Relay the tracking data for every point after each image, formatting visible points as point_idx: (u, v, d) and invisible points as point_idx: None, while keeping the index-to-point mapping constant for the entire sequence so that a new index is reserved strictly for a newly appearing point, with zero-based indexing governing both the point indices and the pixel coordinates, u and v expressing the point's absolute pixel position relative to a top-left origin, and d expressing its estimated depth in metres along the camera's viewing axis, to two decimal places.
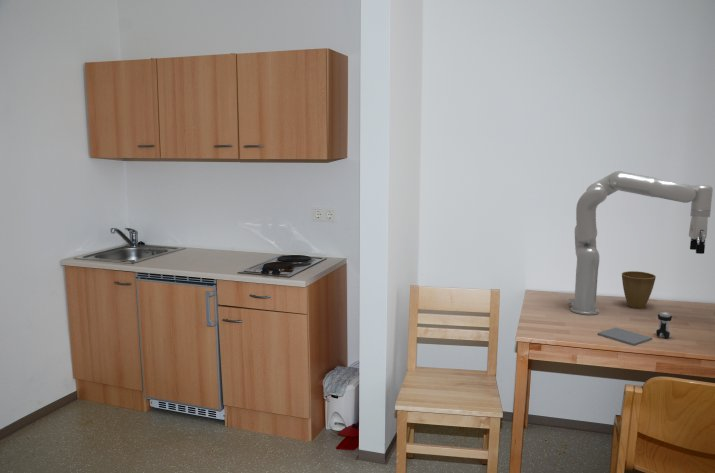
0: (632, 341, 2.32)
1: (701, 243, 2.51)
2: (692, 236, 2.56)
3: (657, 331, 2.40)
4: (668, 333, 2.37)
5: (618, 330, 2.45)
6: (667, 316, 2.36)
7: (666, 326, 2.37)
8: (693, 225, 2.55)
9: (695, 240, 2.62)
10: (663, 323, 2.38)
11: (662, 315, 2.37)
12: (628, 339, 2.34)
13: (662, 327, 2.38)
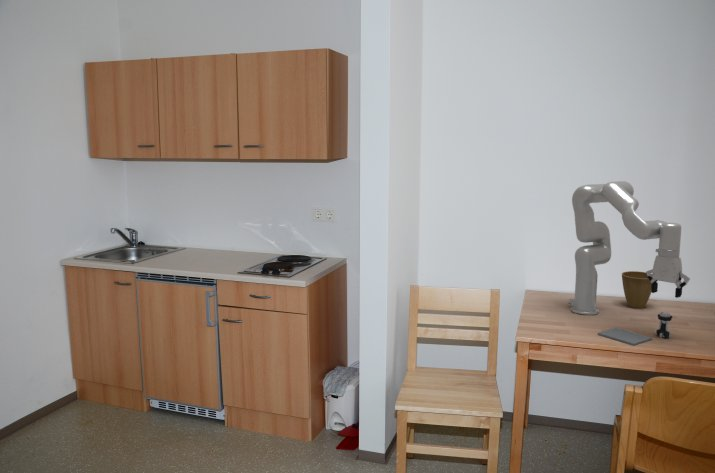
0: (632, 341, 2.32)
1: (682, 286, 2.31)
2: (668, 279, 2.32)
3: (657, 331, 2.40)
4: (668, 333, 2.37)
5: (618, 330, 2.45)
6: (667, 316, 2.36)
7: (666, 326, 2.37)
8: (669, 267, 2.32)
9: (655, 282, 2.40)
10: (663, 323, 2.38)
11: (662, 315, 2.37)
12: (628, 339, 2.34)
13: (662, 327, 2.38)
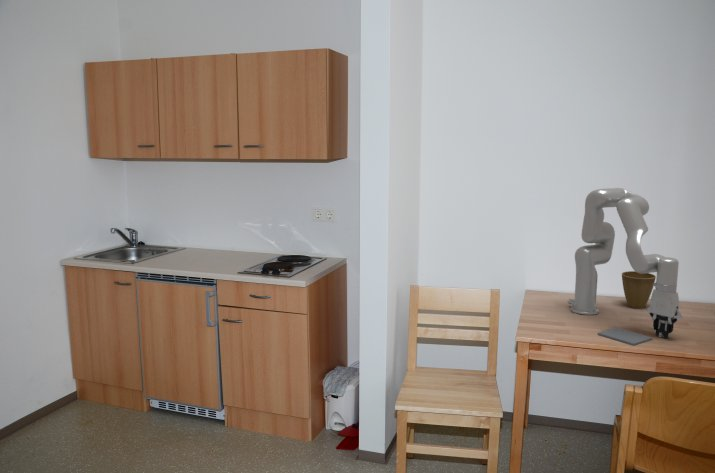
0: (632, 341, 2.32)
1: (674, 322, 2.35)
2: (665, 314, 2.35)
3: (656, 331, 2.40)
4: (667, 333, 2.37)
5: (618, 330, 2.45)
6: None
7: (665, 326, 2.37)
8: (666, 302, 2.34)
9: (657, 319, 2.41)
10: (662, 323, 2.38)
11: None
12: (628, 339, 2.34)
13: (661, 327, 2.38)
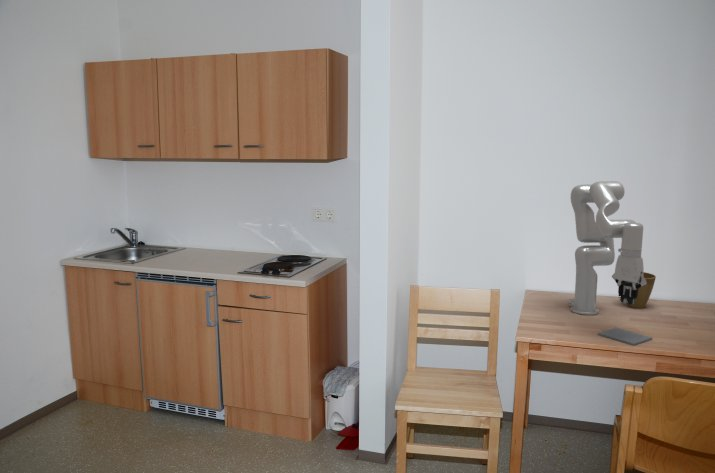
0: (632, 341, 2.32)
1: (638, 288, 2.32)
2: (630, 279, 2.32)
3: (621, 297, 2.38)
4: (632, 299, 2.35)
5: (618, 330, 2.45)
6: None
7: (630, 292, 2.35)
8: (630, 267, 2.31)
9: (622, 285, 2.38)
10: (627, 289, 2.35)
11: None
12: (628, 339, 2.34)
13: (626, 293, 2.36)
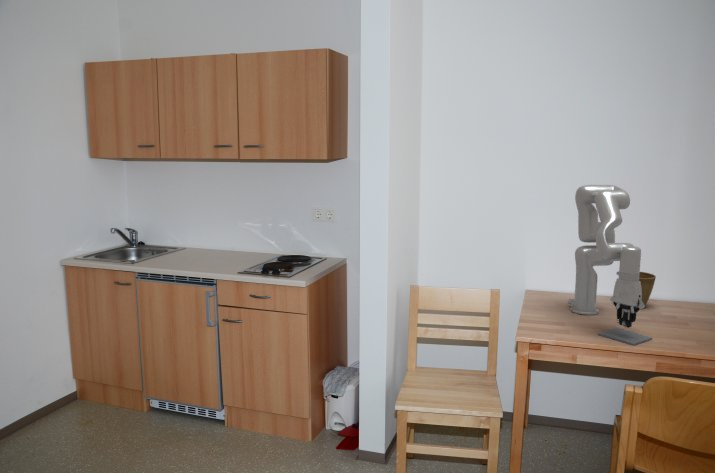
0: (632, 341, 2.32)
1: (636, 311, 2.33)
2: (628, 303, 2.33)
3: (619, 320, 2.39)
4: (630, 322, 2.36)
5: (618, 330, 2.45)
6: None
7: (628, 315, 2.36)
8: (628, 291, 2.33)
9: (621, 308, 2.39)
10: (625, 312, 2.37)
11: None
12: (628, 339, 2.34)
13: (624, 316, 2.37)
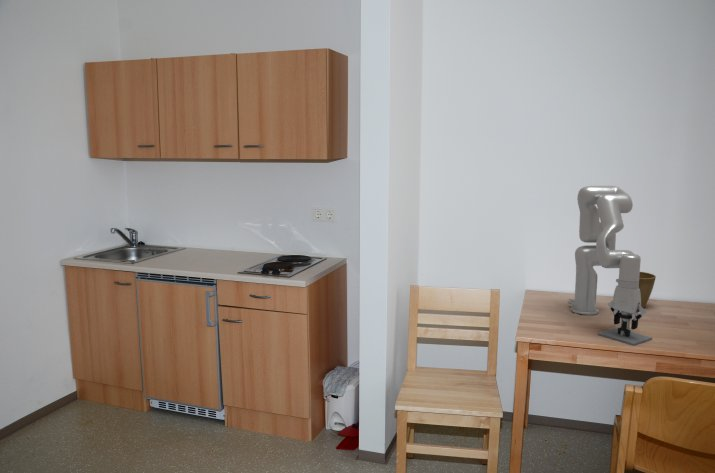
0: (632, 341, 2.32)
1: (638, 318, 2.33)
2: (627, 310, 2.34)
3: (618, 329, 2.40)
4: (629, 331, 2.37)
5: None
6: (628, 314, 2.36)
7: (627, 324, 2.37)
8: (628, 298, 2.33)
9: (618, 314, 2.41)
10: (624, 321, 2.38)
11: (623, 313, 2.37)
12: (628, 339, 2.34)
13: (623, 325, 2.38)
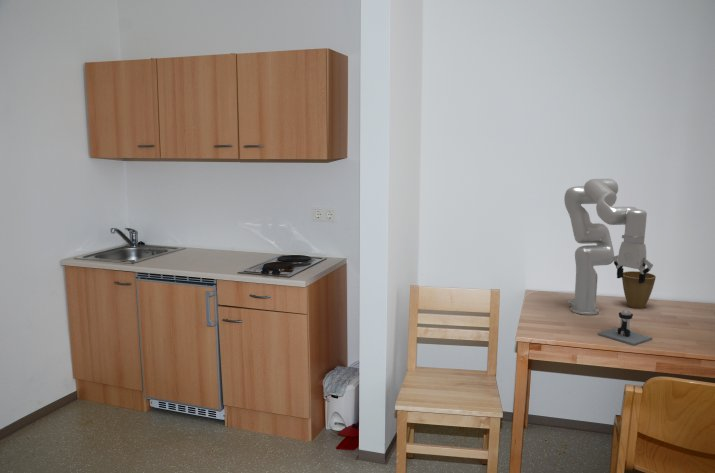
0: (632, 341, 2.32)
1: (646, 272, 2.34)
2: (632, 265, 2.35)
3: (618, 329, 2.40)
4: (629, 331, 2.37)
5: None
6: (628, 314, 2.36)
7: (627, 324, 2.37)
8: (633, 254, 2.35)
9: (621, 268, 2.43)
10: (624, 321, 2.38)
11: (623, 313, 2.37)
12: (628, 339, 2.34)
13: (623, 325, 2.38)
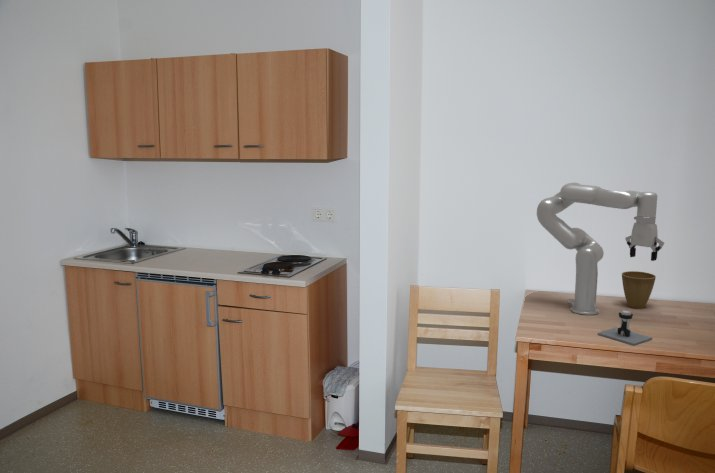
0: (632, 341, 2.32)
1: (657, 250, 2.51)
2: (645, 244, 2.53)
3: (618, 329, 2.40)
4: (629, 331, 2.37)
5: None
6: (628, 314, 2.36)
7: (627, 324, 2.37)
8: (645, 233, 2.52)
9: (634, 247, 2.61)
10: (624, 321, 2.38)
11: (623, 313, 2.37)
12: (628, 339, 2.34)
13: (623, 325, 2.38)
